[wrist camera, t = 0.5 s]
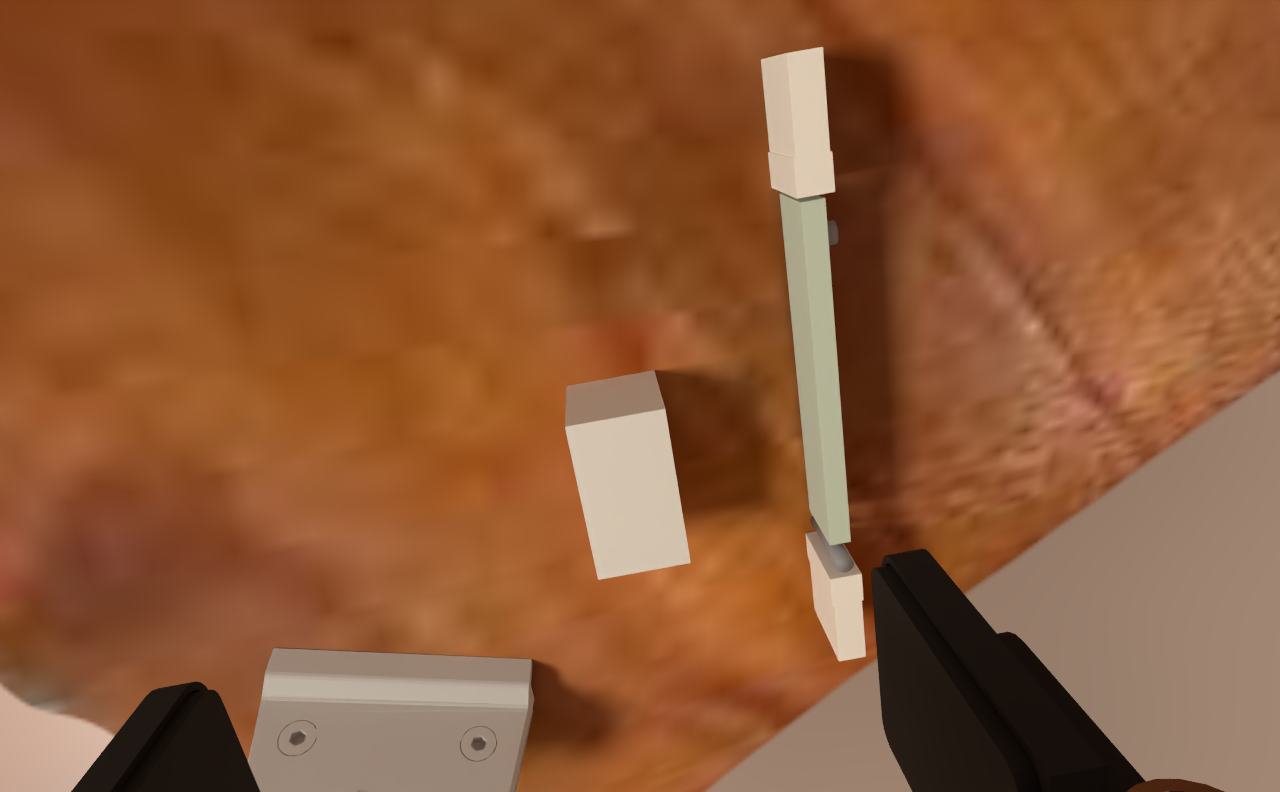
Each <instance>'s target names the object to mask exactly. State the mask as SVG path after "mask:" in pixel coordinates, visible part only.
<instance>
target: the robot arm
mask: <svg viewBox="0 0 1280 792" xmlns="http://www.w3.org/2000/svg"><path fill="white" fill-rule="evenodd" d="M871 579H872V592H873V605H874V618H875V631H876V644H877V657H878V670H879V683H880V696H881V709H882V720H883V726H884V730H885V734H886V737H887V740H888V743H889V745H890V748H891V750H892V752H893V754H894V756H895V758H896V760H897V762H898V764H899V765H900V767H901V769H902V772H903V774H904V775H905V778H906V780H907V781H908V784H909V785H910V788H911V789H912V792H1224V791H1221V790H1219V789H1216V788H1213V787H1211V786H1209V785H1206V784H1201V783H1196V782H1191V781H1186V780H1182V779H1155V780H1151V781H1147V782H1146V781H1145V780H1144V779H1143V778H1142V777H1141V776H1140V774H1139V773H1138V772H1137V771H1136V770H1135V769H1134V768H1133V766H1132V765H1131V764H1130V763H1129V762H1128V761H1127V759H1125V757H1124V756H1123V755H1122V754H1121V753H1120V751H1118V749H1117V748H1116V747H1115V746H1114V745H1113V743H1111V741H1110V740H1109V739H1108V738H1107V737H1106V736H1105V735H1104V733H1103V732H1102V731H1101V730H1100V729H1099V727H1098V726H1097V725H1096V724H1095V723H1094V722H1093V721H1092V719H1091V718H1090V717H1089V716H1088V715H1087V714H1086V713H1085V711H1084V710H1083V709H1082V708H1081V707H1080V706H1079V705H1078V703H1077V702H1076V701H1075V700H1074V699H1073V698H1072V697H1071V695H1070V694H1069V693H1068V692H1067V691H1066V690H1065V688H1064V687H1063V686H1062V685H1061V684H1060V683H1059V682H1058V681H1057V679H1056V678H1055V677H1054V676H1053V675H1052V674H1051V672H1050V671H1049V670H1048V669H1047V668H1046V667H1045V666H1044V664H1043V663H1042V662H1041V661H1040V660H1039V659H1038V658H1037V656H1036V655H1035V654H1034V653H1033V652H1032V651H1031V650H1030V648H1029V647H1028V646H1027V645H1026V644H1025V643H1024V642H1023V641H1022V640H1021V639H1020V638H1019V637H1018V636H1017V635H1016V634H1013V633H1010V632H1005V633H999V634H996V632H995V631H994V630H993V629H992V627H991V626H990V625H989V624H988V623H987V621H986V620H985V619H984V618H983V617H982V615H981V614H980V613H979V612H978V611H977V610H976V608H975V607H974V606H973V605H972V603H971V602H970V601H969V600H968V599H967V597H966V596H965V595H964V594H963V593H962V591H961V590H960V589H959V588H958V587H957V585H956V584H955V583H954V582H953V581H952V579H951V578H950V577H949V576H948V575H947V573H946V572H945V571H944V570H943V569H942V567H941V566H940V565H939V564H938V563H937V561H936V560H935V559H934V558H933V557H932V555H931V554H930V553H929V552H928V551H927V550H926V549H919V550H914V551H908V552H903V553H897V554H892V555H886V556H885V557H884V558H883V563H882V567H879V568H874V569H873V570H872V573H871ZM71 792H260V790H259V787H258V785H257V782H256V780H255V778H254V775H253V773H252V771H251V768H250V766H249V764H248V761H247V759H246V756H245V754H244V752H243V749H242V747H241V745H240V742H239V740H238V737H237V735H236V733H235V730H234V728H233V726H232V723H231V721H230V718H229V716H228V714H227V711H226V709H225V707H224V704H223V702H222V700H221V697H220V696H219V694H218V693H217V692H216V691H215V690H208V689H207V687H206V686H205V685H203V684H202V683H200V682H191V683H186V684H180V685H175V686H169V687H164V688H158V689H155V690H153V691H151V692H150V693H149V694H148V695H147V696H146V697H145V698H144V700H143V701H142V702H141V703H140V705H139V706H138V707H137V709H136V710H135V711H134V712H133V714H132V715H131V716H130V717H129V719H128V720H127V721H126V723H125V724H124V725H123V726H122V728H121V729H120V730H119V731H118V733H117V734H116V735H115V737H114V738H113V739H112V740H111V742H110V743H109V744H108V745H107V747H106V748H105V749H104V751H103V752H102V753H101V755H100V756H99V757H98V758H97V760H96V761H95V762H94V763H93V765H92V766H91V767H90V768H89V770H88V771H87V772H86V774H85V775H84V776H83V777H82V779H81V780H80V781H79V782H78V784H77V785H76V786H75V788H74V789H73V790H72V791H71Z"/></svg>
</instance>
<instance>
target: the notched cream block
mask: <svg viewBox="0 0 1280 792" xmlns="http://www.w3.org/2000/svg"><path fill="white" fill-rule="evenodd" d="M761 66H762V76H763V87H764V97H765V107H766V117H767V128H768V138H769V148H770V152H768V158H769V168H770V178H771V188H773V189H776V190H778V191H780V192H782V193H785V194H787V195H789V196H792V197H794V198H796V199H798V198H804V197H809V196H815V195H820V194H826V193H832V192H835V181H834V167H833V153H832V151H830V141H829V127H828V113H827V99H826V84H825V70H824V56H823V47H819V48H813V49H808V50H802V51H796V52H791V53H785V54H781V55H777V56H773V57H769V58H765V59H761ZM806 543H807V553H808V559H809V561H810V567H811V577H812V588H813V598H814V608H815V611H816V613H817V615H818V618H819V620H820V622H821V624H822V626H823V628H824V630H825V633H826V635H827V637H828V639H829V641H830V643H831V645H832V647H833V650H834V652H835V654H836V656H837V658H838V660H839V661H844V660H849V659H855V658H860V657H866V653H865V639H864V624H863V610H862V600H864V599H863V585H862V573H861V572H860V570H859V568H858V567H857V565H856V563H855V562H854V566H853V568H852V569H851V570H850V571H848V572H840V571H838V570H837V568H836V566H835V564H834V563H833V561H832V559H831V557H830V555H829V554H828V552H827V550H826V548H825V546H824V545H823V543H822V541H821V539H820V537H819V536H818V534H817V532H816V531H815V532H809V533H806ZM843 545H844V544H843ZM844 546H845V545H844ZM845 548H846V547H845ZM846 550H847V549H846ZM847 551H848V550H847ZM848 553H849V552H848ZM849 555H850V554H849ZM850 556H851V555H850ZM851 558H852V557H851ZM852 560H853V559H852ZM853 561H854V560H853Z"/></svg>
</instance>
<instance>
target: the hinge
mask: <svg viewBox="0 0 1280 792" xmlns="http://www.w3.org/2000/svg"><path fill="white" fill-rule="evenodd" d="M531 677H532V659H516V658H492V657H469V656H446V655H423V654H400V653H376V652H353V651H330V650H307V649H284V648H274V649H273V652H272V655H271V658H270V660H269V663H268V666H267V668H266V672H265V678H264V685H263V692H262V698H261V704H260V708H259V713H258V718H257V722H256V727H255V732H254V737H253V741H252V746H251V751H250V755H249V760H248V764H249V766H250V768H251V771H252V773H253V775H254V778H255V780H256V782H257V785H258V787H259V790H260V792H516V789H517V785H518V780H519V775H520V771H521V766H522V761H523V757H524V752H525V747H526V743H527V738H528V733H529V728H530V724H531V719H532V714H533V710H534V709H533V704H534V700H535V699H534V695H533V692H532V688H531Z"/></svg>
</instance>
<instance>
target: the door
mask: <svg viewBox="0 0 1280 792" xmlns="http://www.w3.org/2000/svg"><path fill="white" fill-rule="evenodd" d="M780 203H781V214H782V224H783V235H784V245H785V256H786V266H787V277H788V287H789V298H790V308H791V319H792V329H793V340H794V350H795V361H796V371H797V382H798V393H799V403H800V414H801V424H802V435H803V445H804V456H805V466H806V477H807V487H808V498H809V508H810V512H811V514H812V515H813V516H812V517H811V523H812V525H813V527H814V529H815V530H816V532H817V534H818V536H819V537H820V539H821V541H822V543H823V545H824V546H825V548H826V550H827V552H828V554H829V555H830V557H831V559H832V561H833V563H834V564H835V566H836V568H837V570H838V571H840V572H848V571H850V570H851V569H852V568H853V566H854V561H853V560H852V558H851V556H850V555H849V553H848V551H847V550H846V548H845V546H844V545H843V543H847V542H851V536H850V523H849V509H848V496H847V482H846V469H845V455H844V442H843V428H842V415H841V401H840V388H839V374H838V361H837V348H836V334H835V321H834V307H833V294H832V280H831V267H830V253H829V245H835V244H837V243H838V228H837V225H836V222H835V221H834V220H831V221H827V213H826V199H825V198H824V197H821V196H819V195H815V196H809V197H804V198H798V199H796V198H794V197H792V196H789V195H787V194H785V193H780Z"/></svg>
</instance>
